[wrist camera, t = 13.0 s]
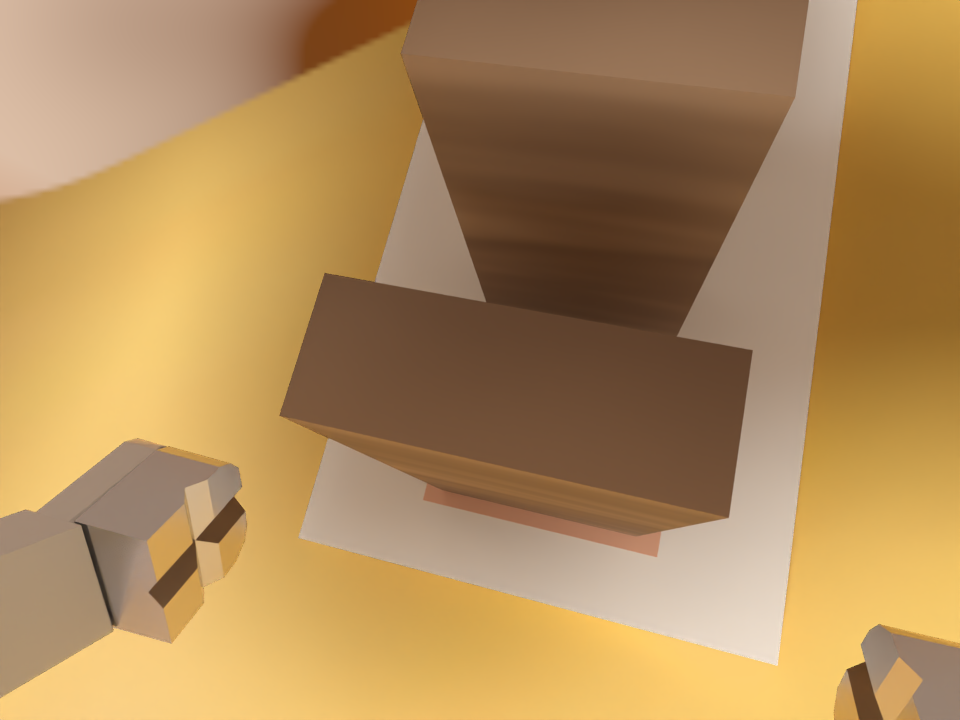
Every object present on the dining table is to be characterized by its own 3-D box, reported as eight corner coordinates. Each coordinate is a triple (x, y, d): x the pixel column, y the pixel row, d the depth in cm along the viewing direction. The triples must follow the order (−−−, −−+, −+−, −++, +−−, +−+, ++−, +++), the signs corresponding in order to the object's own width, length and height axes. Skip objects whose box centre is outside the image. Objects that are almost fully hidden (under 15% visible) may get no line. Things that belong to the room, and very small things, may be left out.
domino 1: (672, 345, 17) (795, 96, 8) (489, 311, 18) (400, 53, 9) (683, 282, 18) (812, -25, 8) (503, 252, 19) (435, -54, 9)
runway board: (312, 538, 18) (298, 538, 17) (519, -167, 24) (517, -196, 23) (765, 658, 16) (777, 665, 15) (866, -152, 22) (879, -185, 21)
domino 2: (635, 536, 16) (728, 517, 7) (441, 490, 17) (279, 415, 8) (648, 464, 17) (752, 349, 7) (458, 423, 18) (325, 273, 8)
